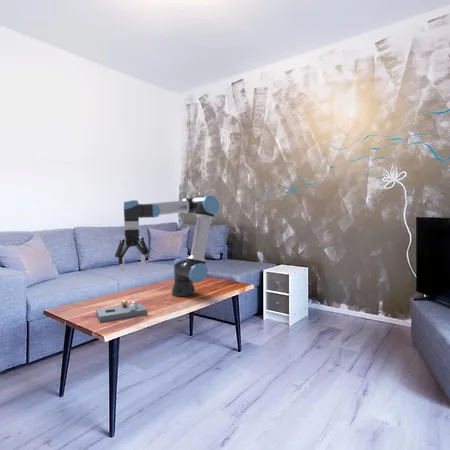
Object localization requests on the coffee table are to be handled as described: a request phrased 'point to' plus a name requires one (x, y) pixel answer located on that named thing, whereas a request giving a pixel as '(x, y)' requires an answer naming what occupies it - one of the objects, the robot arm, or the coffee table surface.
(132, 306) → the white ball
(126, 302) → the brass ball
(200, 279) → the robot arm
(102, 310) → the board
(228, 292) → the coffee table surface
